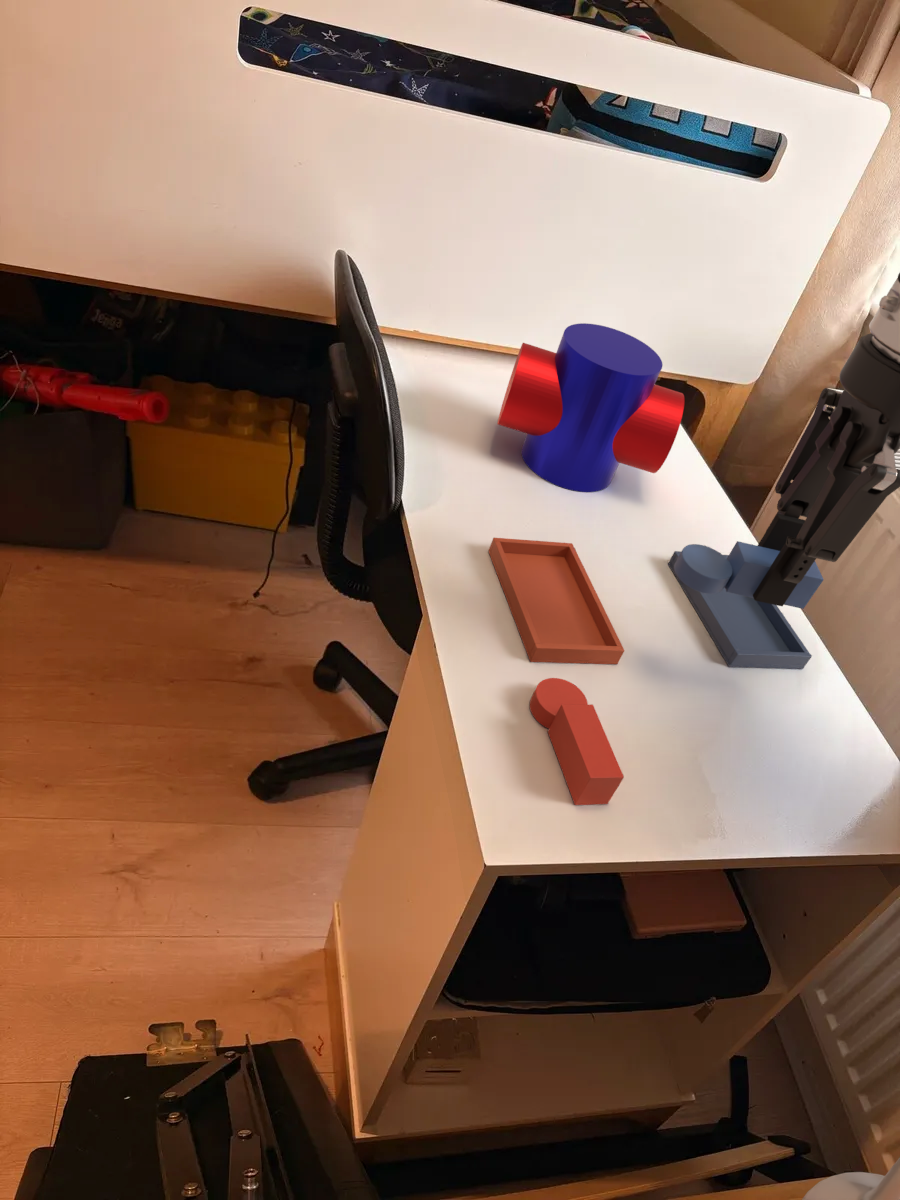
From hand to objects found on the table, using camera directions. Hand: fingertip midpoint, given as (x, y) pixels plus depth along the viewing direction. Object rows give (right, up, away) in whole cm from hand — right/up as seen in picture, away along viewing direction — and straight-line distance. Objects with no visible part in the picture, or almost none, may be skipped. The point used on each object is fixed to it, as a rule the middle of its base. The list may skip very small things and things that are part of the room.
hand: (762, 587), depth 81 cm
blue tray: (+2, -3, +17) cm, 17 cm away
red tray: (-18, -2, +9) cm, 21 cm away
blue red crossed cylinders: (-14, +16, +32) cm, 38 cm away
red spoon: (-18, -14, -5) cm, 23 cm away
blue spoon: (-2, 0, 0) cm, 2 cm away
